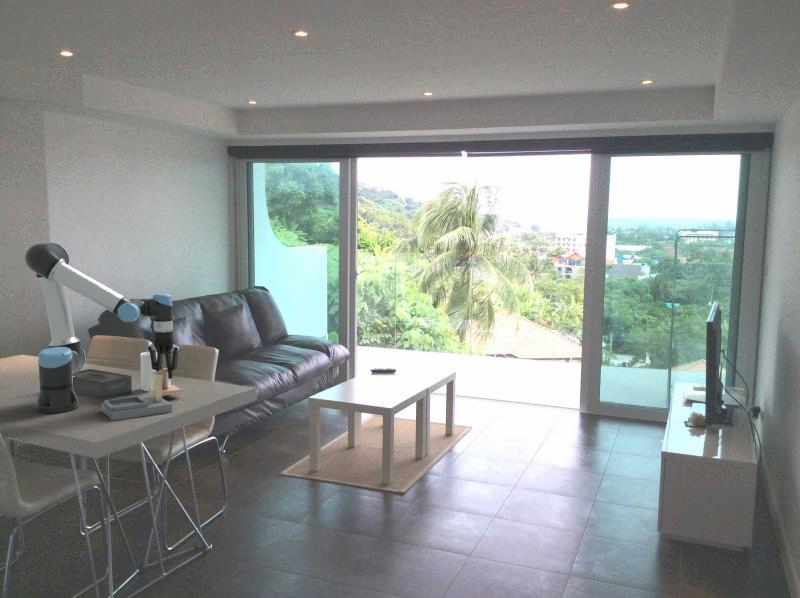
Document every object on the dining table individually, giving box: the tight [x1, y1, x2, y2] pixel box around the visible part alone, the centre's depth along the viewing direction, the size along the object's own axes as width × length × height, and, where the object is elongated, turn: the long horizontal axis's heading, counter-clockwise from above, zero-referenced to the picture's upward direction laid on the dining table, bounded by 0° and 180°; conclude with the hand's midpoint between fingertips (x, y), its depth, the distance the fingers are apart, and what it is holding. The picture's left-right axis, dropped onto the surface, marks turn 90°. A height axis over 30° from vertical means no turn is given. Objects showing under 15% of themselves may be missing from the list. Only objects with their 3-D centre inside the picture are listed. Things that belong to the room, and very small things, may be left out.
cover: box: [149, 367, 182, 396], centre depth 283 cm, size 10×10×10 cm
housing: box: [101, 395, 173, 422], centre depth 261 cm, size 22×16×4 cm
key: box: [147, 371, 163, 402], centre depth 268 cm, size 12×2×11 cm, turn 36°
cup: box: [140, 351, 157, 392], centre depth 298 cm, size 8×8×16 cm
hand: (164, 386), depth 283 cm, fingers closed on cover, 2 cm apart
